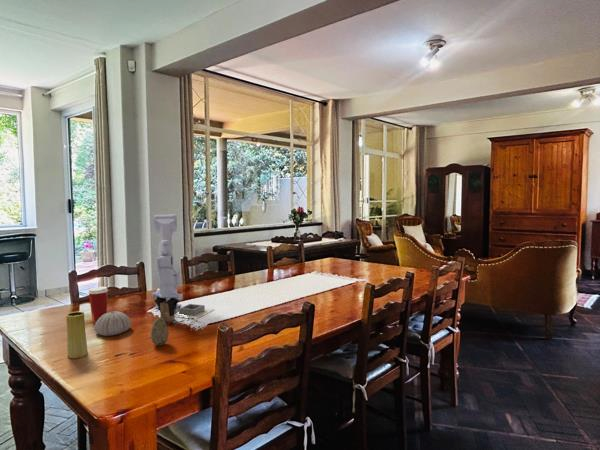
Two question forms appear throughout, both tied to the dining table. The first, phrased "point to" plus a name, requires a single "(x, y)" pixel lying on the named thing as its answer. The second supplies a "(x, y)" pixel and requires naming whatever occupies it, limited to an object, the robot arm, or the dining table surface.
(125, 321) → the sea urchin shell
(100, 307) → the paper cup
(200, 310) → the grey square socket
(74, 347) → the vase
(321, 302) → the dining table surface
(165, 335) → the decorative egg
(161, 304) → the square peg
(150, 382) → the dining table surface
